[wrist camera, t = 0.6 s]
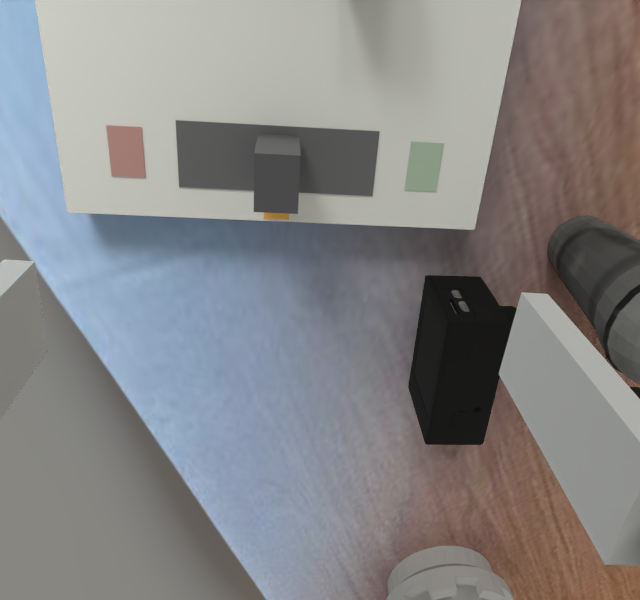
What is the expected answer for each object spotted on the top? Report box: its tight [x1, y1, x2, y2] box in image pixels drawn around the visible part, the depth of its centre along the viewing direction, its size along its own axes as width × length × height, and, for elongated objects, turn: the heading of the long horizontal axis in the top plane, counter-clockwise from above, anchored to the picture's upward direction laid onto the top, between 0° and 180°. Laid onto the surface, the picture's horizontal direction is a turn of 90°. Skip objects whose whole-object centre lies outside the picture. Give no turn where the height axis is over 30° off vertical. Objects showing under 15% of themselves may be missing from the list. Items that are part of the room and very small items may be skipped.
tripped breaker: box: [254, 134, 301, 214], centre depth 33 cm, size 3×2×4 cm
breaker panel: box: [35, 0, 521, 230], centre depth 34 cm, size 20×26×3 cm
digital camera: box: [409, 276, 517, 445], centre depth 43 cm, size 10×5×7 cm, turn 177°
